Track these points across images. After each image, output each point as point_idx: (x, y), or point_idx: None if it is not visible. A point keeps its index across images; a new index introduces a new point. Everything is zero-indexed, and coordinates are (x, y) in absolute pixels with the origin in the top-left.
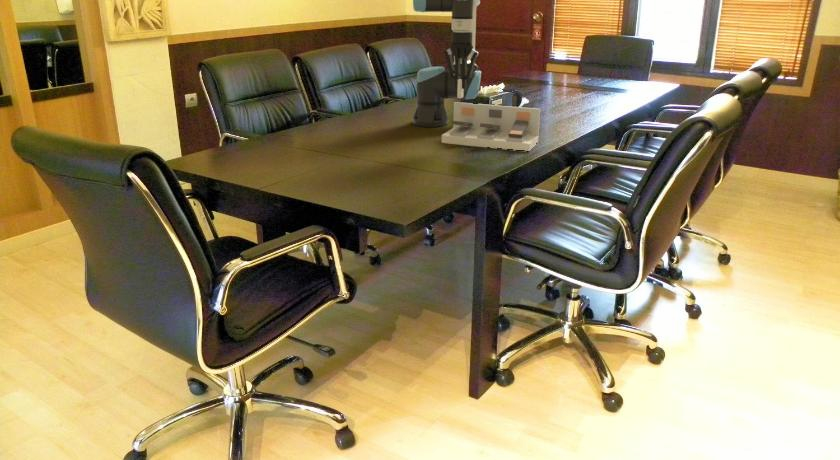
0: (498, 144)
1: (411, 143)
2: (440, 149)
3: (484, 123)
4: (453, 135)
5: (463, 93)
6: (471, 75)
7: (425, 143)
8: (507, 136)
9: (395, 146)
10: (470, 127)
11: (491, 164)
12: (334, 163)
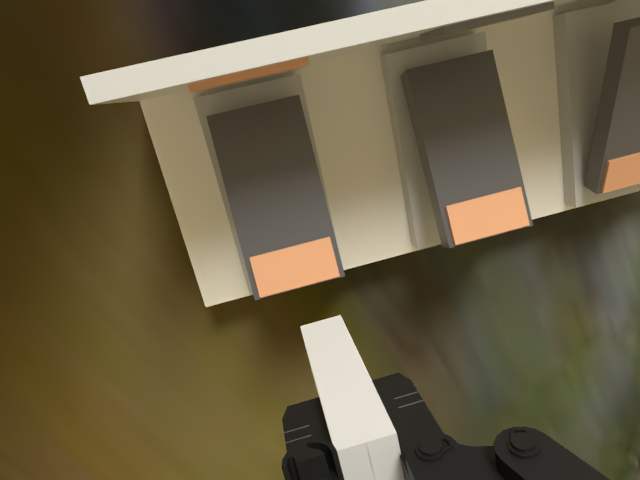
0: None
1: (84, 391)
2: (278, 385)
3: (476, 239)
4: None
5: (348, 332)
6: (562, 454)
7: (144, 348)
8: (538, 107)
9: (62, 476)
10: None
11: (564, 421)
12: None
